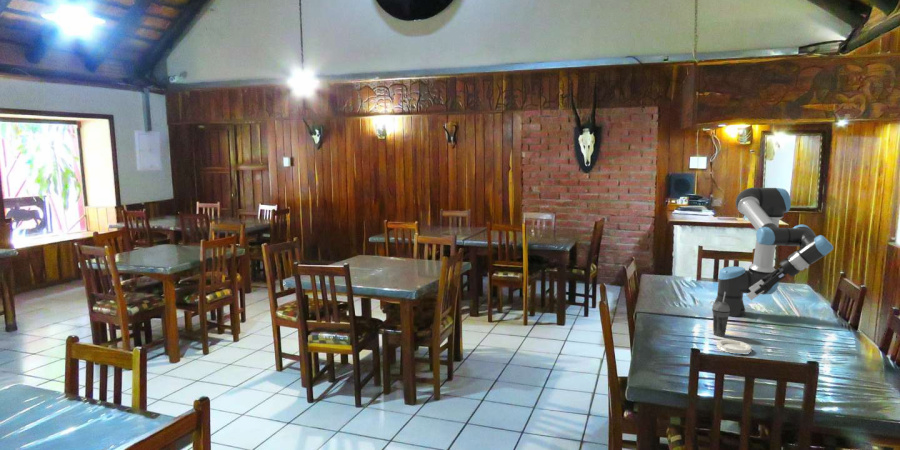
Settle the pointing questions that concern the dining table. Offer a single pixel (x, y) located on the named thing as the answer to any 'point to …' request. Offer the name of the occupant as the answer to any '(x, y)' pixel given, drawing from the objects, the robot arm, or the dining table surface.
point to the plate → (733, 346)
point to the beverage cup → (720, 317)
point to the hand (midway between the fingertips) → (749, 294)
